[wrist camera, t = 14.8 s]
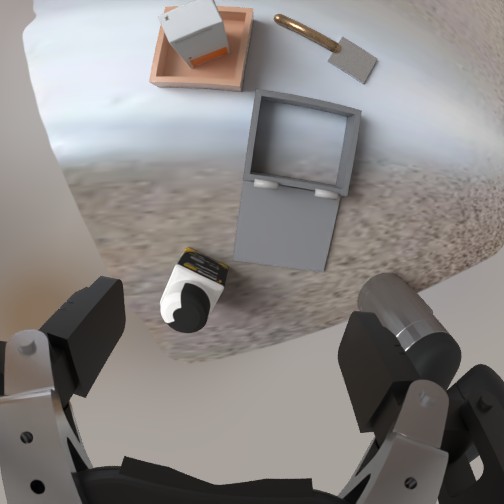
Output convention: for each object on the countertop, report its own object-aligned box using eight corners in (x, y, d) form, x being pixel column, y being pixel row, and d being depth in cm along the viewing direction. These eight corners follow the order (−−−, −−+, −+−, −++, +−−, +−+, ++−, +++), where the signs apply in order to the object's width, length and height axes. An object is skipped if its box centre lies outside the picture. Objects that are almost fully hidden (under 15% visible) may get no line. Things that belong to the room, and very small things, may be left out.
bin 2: (353, 112, 37) (363, 110, 33) (322, 270, 45) (328, 282, 41) (255, 93, 36) (255, 87, 32) (233, 258, 45) (230, 270, 41)
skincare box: (191, 70, 34) (167, 44, 23) (181, 46, 33) (155, 15, 21) (232, 54, 33) (224, 21, 22) (222, 30, 32) (210, -7, 21)
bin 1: (253, 19, 32) (253, 8, 28) (241, 91, 36) (239, 86, 32) (172, 17, 31) (165, 7, 27) (158, 87, 35) (149, 82, 32)
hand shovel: (265, 30, 32) (266, 26, 31) (281, 7, 31) (282, 3, 29) (362, 83, 35) (366, 81, 33) (375, 59, 33) (379, 57, 32)
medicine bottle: (229, 266, 45) (221, 307, 34) (210, 301, 47) (198, 347, 36) (187, 245, 44) (165, 281, 33) (170, 282, 46) (148, 324, 35)
